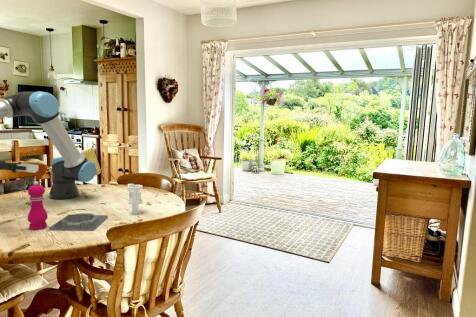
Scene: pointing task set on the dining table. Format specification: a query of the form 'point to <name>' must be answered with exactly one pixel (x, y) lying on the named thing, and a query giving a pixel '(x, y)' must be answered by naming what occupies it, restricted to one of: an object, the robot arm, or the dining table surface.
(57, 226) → the collar plate
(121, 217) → the dining table surface
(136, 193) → the white blocky figurine
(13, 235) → the dining table surface
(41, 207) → the pepper mill
